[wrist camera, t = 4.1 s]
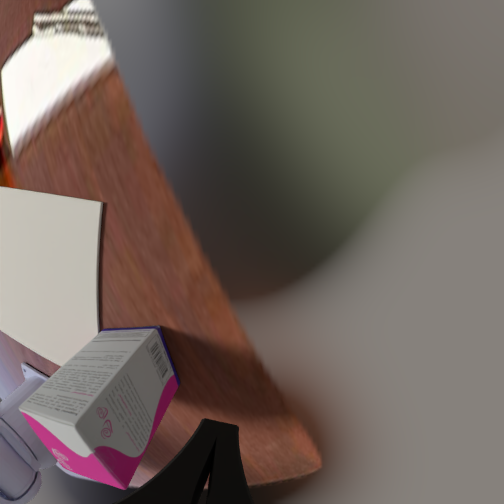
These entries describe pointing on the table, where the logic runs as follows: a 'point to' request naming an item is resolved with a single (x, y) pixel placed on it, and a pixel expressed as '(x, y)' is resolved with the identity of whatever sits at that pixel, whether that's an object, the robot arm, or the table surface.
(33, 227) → the grey mat
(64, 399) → the supplement box
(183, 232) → the table surface
